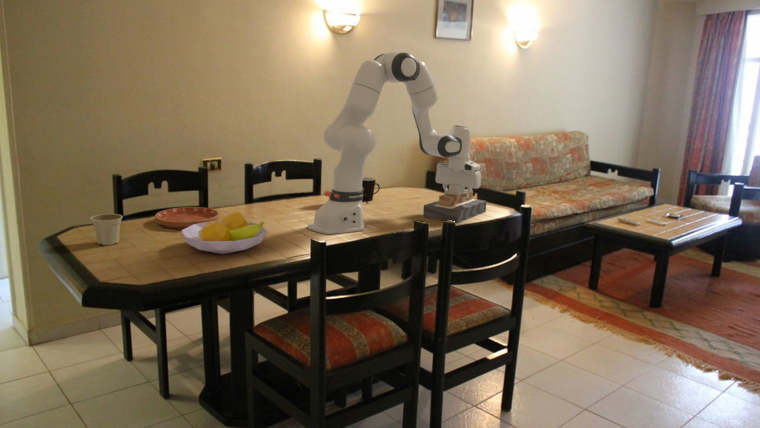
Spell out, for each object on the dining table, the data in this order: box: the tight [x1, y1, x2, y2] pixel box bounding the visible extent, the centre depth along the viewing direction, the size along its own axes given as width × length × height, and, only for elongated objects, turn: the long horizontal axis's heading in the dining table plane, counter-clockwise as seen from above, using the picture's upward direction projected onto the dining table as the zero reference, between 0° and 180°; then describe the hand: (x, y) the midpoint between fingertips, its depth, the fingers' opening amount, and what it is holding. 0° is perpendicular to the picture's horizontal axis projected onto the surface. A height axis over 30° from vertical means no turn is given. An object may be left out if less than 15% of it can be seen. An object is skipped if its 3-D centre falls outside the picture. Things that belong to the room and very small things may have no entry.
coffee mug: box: [362, 176, 381, 202], centre depth 265 cm, size 12×9×10 cm
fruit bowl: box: [181, 210, 268, 255], centre depth 182 cm, size 28×27×11 cm
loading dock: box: [422, 198, 487, 224], centre depth 245 cm, size 28×16×5 cm, turn 146°
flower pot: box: [89, 213, 123, 246], centre depth 183 cm, size 9×9×9 cm
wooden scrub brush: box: [438, 188, 474, 207], centre depth 244 cm, size 22×5×4 cm, turn 146°
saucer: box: [154, 206, 220, 230], centre depth 213 cm, size 23×23×4 cm
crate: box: [448, 184, 462, 195], centre depth 241 cm, size 4×4×4 cm
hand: (456, 196), depth 243 cm, fingers open, 8 cm apart
